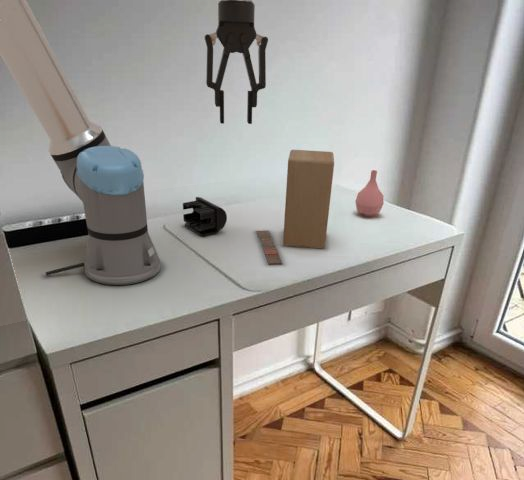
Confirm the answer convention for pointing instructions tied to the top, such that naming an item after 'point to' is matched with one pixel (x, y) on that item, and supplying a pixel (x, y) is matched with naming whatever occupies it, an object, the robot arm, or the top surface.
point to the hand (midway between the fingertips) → (235, 122)
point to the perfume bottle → (370, 197)
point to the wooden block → (308, 198)
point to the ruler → (269, 248)
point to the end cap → (204, 217)
